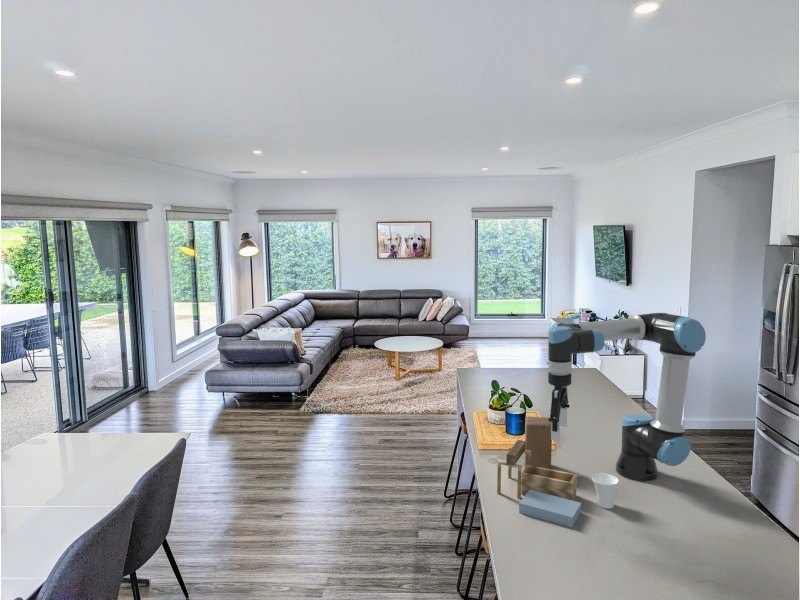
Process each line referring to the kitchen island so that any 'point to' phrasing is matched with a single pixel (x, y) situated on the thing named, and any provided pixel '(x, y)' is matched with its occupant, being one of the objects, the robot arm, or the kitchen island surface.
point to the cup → (605, 489)
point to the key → (516, 452)
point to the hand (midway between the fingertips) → (559, 432)
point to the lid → (550, 508)
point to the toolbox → (541, 480)
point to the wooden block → (538, 441)
